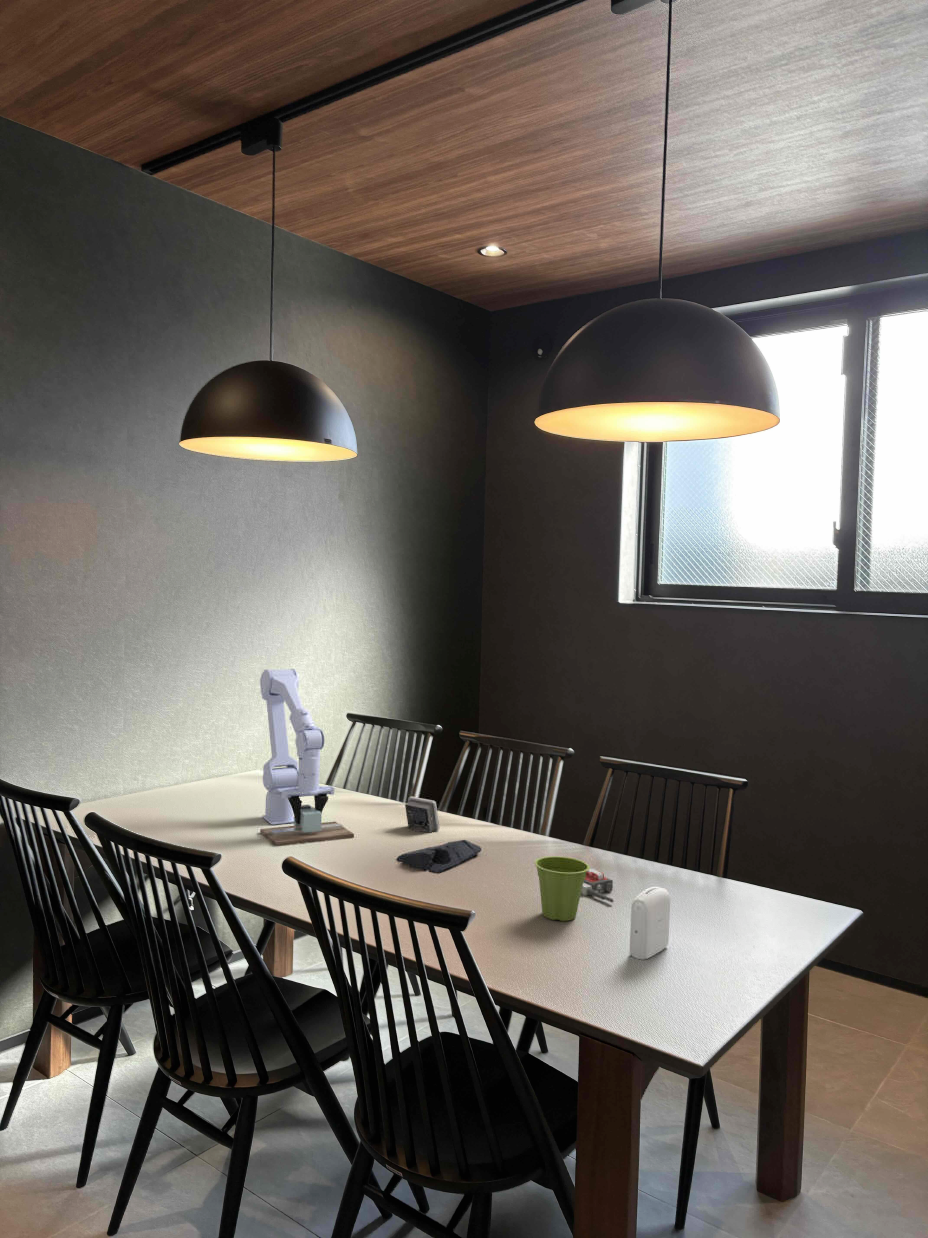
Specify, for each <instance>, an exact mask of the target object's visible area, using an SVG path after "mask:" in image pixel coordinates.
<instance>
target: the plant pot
mask: <svg viewBox="0 0 928 1238" xmlns="http://www.w3.org/2000/svg"><path fill="white" fill-rule="evenodd" d="M534 866H535V867H536V869H537V876H538V882H539V891H540V892H539V893H540V903H541V914H542V915H543V916H544V917H545V918H546V919H549V920H552V921H555V920H558V921H561V922H567V921H572V920H574V919H575V918H576V916H577V913H578V908H579V903H580V900H581V891H582V886H583V882H584V880H585V877H586V873H587V871H588V870H589V869H591V867H590V865H589V864H588V863H587V862H585V861H583V860H581V859H578V858H573V857H568V856H561V855H560V856H559V855H555V856H553V855H552V856H550V855H549V856H544V857H539V858H536V860H535V861H534Z"/></svg>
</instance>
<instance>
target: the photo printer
mask: <svg viewBox="0 0 928 1238" xmlns="http://www.w3.org/2000/svg"><path fill="white" fill-rule="evenodd" d="M670 912H671V897H670V893H669V892H668V891H667V889H666V888H664V887H660V886H651V887H648V888H647V889H644V890H643V891H641V892H639V894H638V895H637V896H636V897H635V898H634V900H633V901H632V903H631V907H630V930H629V931H630V933H629V954H630V955H631V957H633V958H634V959H638V960H642V961H643V960H648V959H649V958H651V957H653V956H655V955H656V954H659V952H661V951H664V950H665V949H666V948H667V947H668V946H669V942H670V941H669V938H670V936H669V935H670Z"/></svg>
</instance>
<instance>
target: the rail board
mask: <svg viewBox="0 0 928 1238" xmlns="http://www.w3.org/2000/svg"><path fill="white" fill-rule="evenodd" d="M259 830H260V834H261V835H262V836H264V837H265V838H266V839H267V840H268V841H269V842H270V843H272V844H273V845H274V846H275V847H279V846H280V847H281V846H289V845H290V844H291V845H297V843H300V844H306V843H305V842H309V843H316V842H315V841H318V842H325V840H327V841H336V840H342V839H343V840H345V839H352V838H355V834H354V833H353V832H352V831H350V830H348V829H347V828H346V827H344V825H343V824H341V823H340V822H339V823H338V822H337V821H329V822H328V821H327V822H321V831H315V832H306V833H303V832H302V826H298V827H295V826H294V825H287V826H278V827H268V828H267V827H266V828H260V829H259ZM334 839H335V840H334Z"/></svg>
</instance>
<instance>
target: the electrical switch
mask: <svg viewBox="0 0 928 1238" xmlns="http://www.w3.org/2000/svg"><path fill="white" fill-rule="evenodd" d="M404 807H405V814H406V815H405V816H406V819H407V820H406V821H407V822H406V823H407V827H408V828H407V829H409V828H410V830H414V831H418V832H419V831H420V832H425V833H428V834H430V833H433V832H434V831H435V832H438V831H439V830H440V821H439V814H438V808H437V807H438V806H437V802H436V801H435V800H432V799H426V798H420V797H417V796H412V795H411V796H410V797H408V802H407V803H405V804H404Z"/></svg>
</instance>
